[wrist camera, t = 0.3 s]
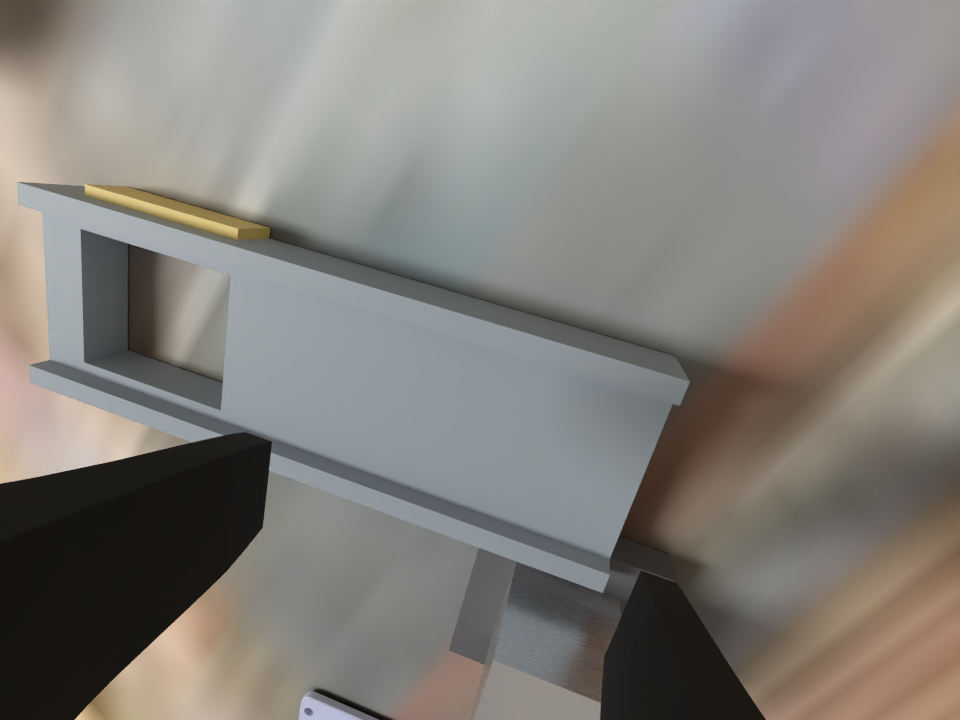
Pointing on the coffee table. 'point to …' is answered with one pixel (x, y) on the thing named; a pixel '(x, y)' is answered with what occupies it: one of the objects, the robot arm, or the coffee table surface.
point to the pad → (496, 575)
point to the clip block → (547, 650)
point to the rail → (366, 380)
